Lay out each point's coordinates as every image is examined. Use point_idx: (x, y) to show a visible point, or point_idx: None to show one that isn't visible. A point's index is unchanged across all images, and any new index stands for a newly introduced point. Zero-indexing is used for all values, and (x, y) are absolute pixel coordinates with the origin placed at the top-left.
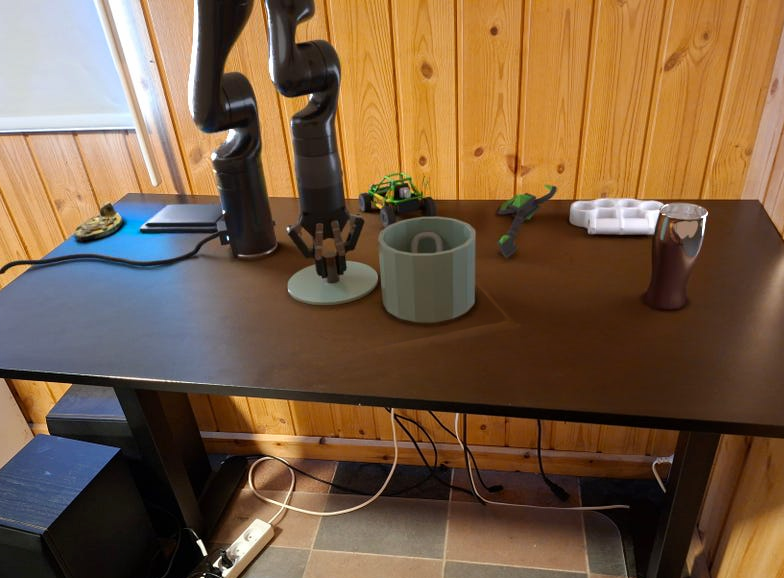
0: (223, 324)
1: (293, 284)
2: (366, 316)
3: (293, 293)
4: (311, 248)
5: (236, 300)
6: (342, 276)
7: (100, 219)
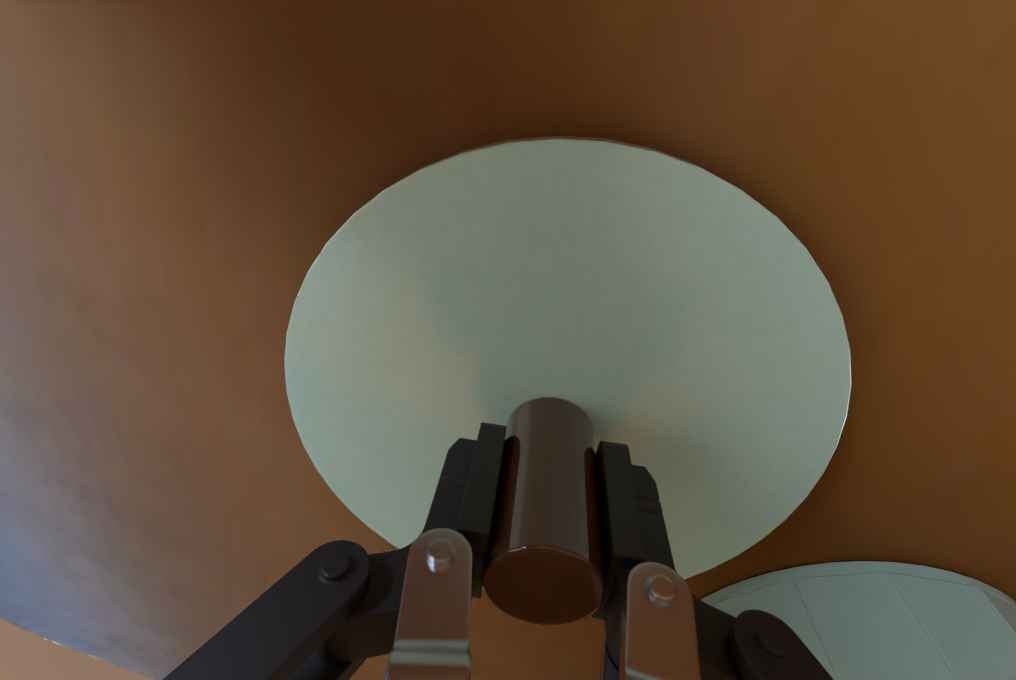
0: (34, 454)
1: (320, 364)
2: (572, 638)
3: (314, 450)
4: (385, 611)
5: (21, 287)
6: (620, 420)
7: None
